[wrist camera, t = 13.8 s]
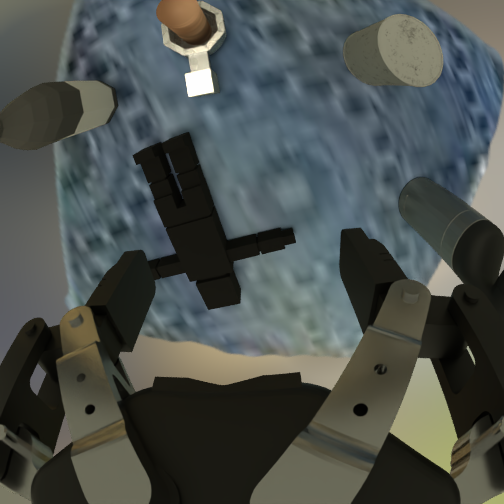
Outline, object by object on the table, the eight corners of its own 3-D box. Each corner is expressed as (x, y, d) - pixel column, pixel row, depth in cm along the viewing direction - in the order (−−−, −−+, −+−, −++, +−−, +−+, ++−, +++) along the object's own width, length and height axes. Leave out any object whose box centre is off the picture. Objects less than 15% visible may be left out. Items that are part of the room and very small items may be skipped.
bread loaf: (209, 17, 27) (195, -12, 17) (213, 42, 29) (199, 19, 19) (180, 24, 27) (154, -2, 17) (184, 48, 29) (158, 30, 19)
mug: (223, 11, 28) (218, -7, 22) (235, 90, 35) (233, 88, 28) (171, 22, 29) (155, 8, 22) (184, 99, 36) (170, 101, 29)
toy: (263, 111, 33) (306, 291, 48) (261, 110, 37) (301, 273, 53) (74, 183, 37) (150, 322, 52) (90, 173, 41) (156, 304, 56)
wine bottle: (93, 138, 38) (-52, 217, 12) (70, 103, 34) (-80, 152, 8) (128, 106, 35) (-29, 153, 10) (103, 70, 32) (-56, 82, 6)
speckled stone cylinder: (407, 58, 31) (453, 54, 21) (379, 97, 35) (422, 102, 25) (361, 19, 28) (399, 0, 18) (331, 59, 32) (362, 48, 22)
